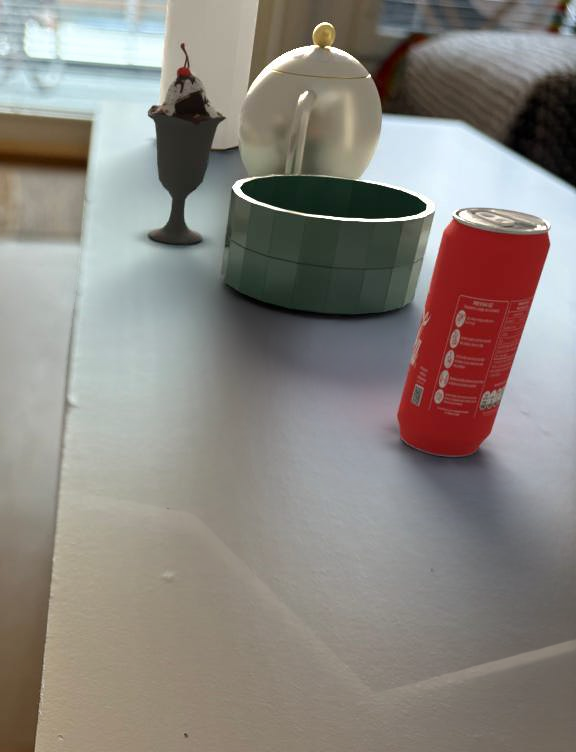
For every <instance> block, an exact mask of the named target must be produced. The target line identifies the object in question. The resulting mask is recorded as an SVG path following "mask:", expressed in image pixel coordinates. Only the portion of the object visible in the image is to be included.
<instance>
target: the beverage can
mask: <svg viewBox="0 0 576 752" xmlns="http://www.w3.org/2000/svg"><path fill="white" fill-rule="evenodd" d="M551 228H552V225H551V223H550V222H548V221H547V220H546V219H545V218H544V219H543V218H542V217H538V216H537V215H533V214H529V213H525V212H521V211H516V210H509V209H504V208H496V207H494V208H493V207H464V208H459V209H457V210H455V211H453V213H452V219H451V221H450V222H449V223H448V224H447V225H446V227H445V228H444V229H443V232H442V235H441V239H440V244H439V248H438V251H437V255H436V259H435V263H434V268H433V272H432V275H431V278H430V279H431V280H430V283H429V286H428V290H427V295H426V298H425V303H424V307H423V311H422V315H421V319H420V323H419V326H418V331H417V334H416V338H415V342H414V346H413V350H412V354H411V358H410V362H409V366H408V370H407V373H406V377H405V381H404V386H403V389H402V394H401V397H400V401H399V406H398V409H397V414H396V418H397V422H398V426H399V436H400V438H401V440H402V441H403V443H404V444H406V445H408V446H409V447H410V448H412V449H415V450H417V451H420V452H422V453H425V454H427V455H433V456H437V457H444V458H445V457H446V458H462V457H463V458H464V457H468V456H470V455H473V454H475V453H476V452H477V451H478V450H479V447H480V446H481V444H482V443H483V442H484V441H485V440H486V439H487V438H488V437H489V436H490V435H491V433H492V430H493V428H494V424H495V422H496V418H497V416H498V415H497V414H498V412H499V408H500V405H501V402H502V400H503V396H504V393H505V389H506V386H507V383H508V381H509V377H510V374H511V371H512V368H513V365H514V362H515V358H516V355H517V352H518V349H519V346H520V342H521V339H522V337H523V334H524V333H523V332H524V329H525V327H526V323H527V320H528V317H529V315H530V311H531V308H532V306H533V305H532V304H533V302H534V298H535V296H536V292H537V289H538V286H539V283H540V279H541V277H542V272H543V270H544V267H545V264H546V261H547V258H548V254H549V251H550V248H551V239H550V234H549V231H550V230H551Z"/></svg>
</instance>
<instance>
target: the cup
mask: <svg viewBox="0 0 576 752" xmlns="http://www.w3.org/2000/svg"><path fill="white" fill-rule="evenodd" d="M259 4H260V0H166V12H165V23H164V38H163V48H162V62H161V74H160V86H159V99H158V106H159V105H161V104H162V103H163V102H164V101H165V97H166V94H167V91H168V88H169V86H170V85H171V83H172V82H173V81H174V80H175V79H176V78H177V70H178V69H179V68H181V67H184V64H185V60H186V55H185V53H184V52H183V50H182V49H181V44H182V43H184V44H185V50H186V52H187V55H188V59H189V65H190V66H189V70H190V72H191V74H192V75H194V76H195V77H197V78H198V79H199V80H200V81H201V82H202V83H203V85H204V87H205V90H206V95H207V97H208V100H209V101H210V102H211V104H212V105H213V106H214V108H215V109H216V111H217V112H218V113H221V114H222V116H224V117H226V119H225V120H223V121H221V122H220V123H219V124H218V126H217V129H216V132H215V136H214V139H213V143H212V147H211V151H226V150H230V149H235V148H239V144H238V123H239V117H240V112H241V108H242V105H243V102H244V99H245V97H246V95H247V93H248V91H249V82H250V75H251V66H252V57H253V50H254V42H255V35H256V27H257V19H258V12H259ZM186 67H187V64H186Z"/></svg>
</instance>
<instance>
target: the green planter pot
mask: <svg viewBox="0 0 576 752" xmlns="http://www.w3.org/2000/svg"><path fill="white" fill-rule="evenodd" d="M229 199H230V200H229V207H228V208H229V209H228V216H227V223H226V232H225V240H224V247H223V255H222V264H221V269H220V270H221V271H220V274H221V277H222V279H223V281H224V283H225V284H226V285H228V286H230V287H231V288H232V289H234V290H235V291H236V292H238V293H240V294H243V295H246V296H247V297H250V298H253V299H255V300H258V301H261V302H264V303H267V304H271V305H273V306H278V307H282V308H286V309H289V310H290V309H291V310H295V311H301V312H307V313H314V314H325V315H326V314H327V315H362V314H363V315H364V314H373V313H385V312H390V311H393V310H394V311H395V310H397V309H402V308H403V307H405V306H407V305H408V304H409V303H411V302H412V301H414V299H415V295H416V291H417V288H418V287H417V286H418V282H419V279H420V275H421V270H422V266H423V262H424V258H425V254H426V251H427V246H428V243H429V238H430V233H431V229H432V225H433V222H434V217H435V214H436V204H435V203H434V202H432V201H431V200H430V199H429V198H427V197H426V196H424V195H422V194H418V193H416V192H414V191H411V190H409V189H405V188H402V187H398V186H394V185H390V184H387V183H382V182H377V181H371V180H368V179H367V180H366V179H361V178H359V179H355V178H347V177H338V176H330V175H313V174H270V175H262V176H254V177H250V176H249V177H246V178H243V179H240V180H237V181H236V182H235V183H234V184H233V186H232V187H231V192H230V198H229Z"/></svg>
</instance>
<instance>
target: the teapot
mask: <svg viewBox="0 0 576 752" xmlns="http://www.w3.org/2000/svg"><path fill="white" fill-rule="evenodd" d="M335 39H336V30H335V27H334V26H333V25H332V24H330V23H328V22H322V23H320V24H318V25H317V26H316V27H315V28H314V30H313V33H312V43H313V45H310V46H309V45H307V46H303V47H299V48H296V49H295V48H294V49H293V50H291V51H288V52H286V53H284V54H282V55H281V56H278V57H277V58H276V59H274V60H273V61H271V62H270V63H269V64H268V65H267V66H266V67H265V68H264V69H263V70H262V71H261V72H260V73H259V75H257V77H256V78H255V80H254V81H253V82H252V84H251V86H250V87H249V88H248V90H247V95H246V97H245V99H244V102H243V105H242V108H241V112H240V117H239V123H238V144H239V146H238V150H239V154H240V158H241V161H242V164H243V166H244V168H245V170H246V172H247V174H248V175H249V177H254V176H262V175H270V174H313V175H330V176H338V177H347V178H355V179H360V178H361V176H362V175H363V174H364V173H365V171H366V170H367V168H368V167H369V166H370V164H371V162H372V160H373V157H375V153H376V151H377V148H378V146H379V141H380V138H381V133H382V126H383V125H382V123H383V110H382V102H381V98H380V94H379V91H378V88H377V86H376V83H375V81H374V79H373V77H372V76H371V74H370V73H369V72H368V70H367V68H365V66H364V65H363V64H362V63H361V62H360V61H359V60H357V59H356V58H355V57H353V56H352V55H350V54H349V53H347V52H345V51H343V50H341V49H338V48H336V47H332V45H333V43H334V41H335Z"/></svg>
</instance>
